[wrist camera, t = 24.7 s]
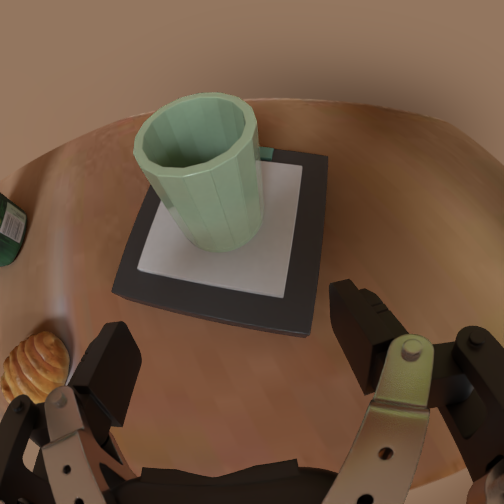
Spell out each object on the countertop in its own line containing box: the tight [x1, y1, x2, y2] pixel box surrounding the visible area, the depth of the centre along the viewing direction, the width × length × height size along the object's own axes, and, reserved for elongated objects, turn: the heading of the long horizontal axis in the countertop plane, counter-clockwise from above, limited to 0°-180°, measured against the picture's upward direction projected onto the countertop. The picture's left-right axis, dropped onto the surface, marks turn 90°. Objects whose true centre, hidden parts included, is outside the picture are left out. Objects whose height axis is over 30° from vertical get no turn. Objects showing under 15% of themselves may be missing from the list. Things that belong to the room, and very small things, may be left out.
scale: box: [111, 147, 328, 338], centre depth 20 cm, size 14×14×3 cm
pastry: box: [0, 331, 70, 404], centre depth 16 cm, size 9×7×4 cm
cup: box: [133, 92, 264, 253], centre depth 15 cm, size 6×6×8 cm
